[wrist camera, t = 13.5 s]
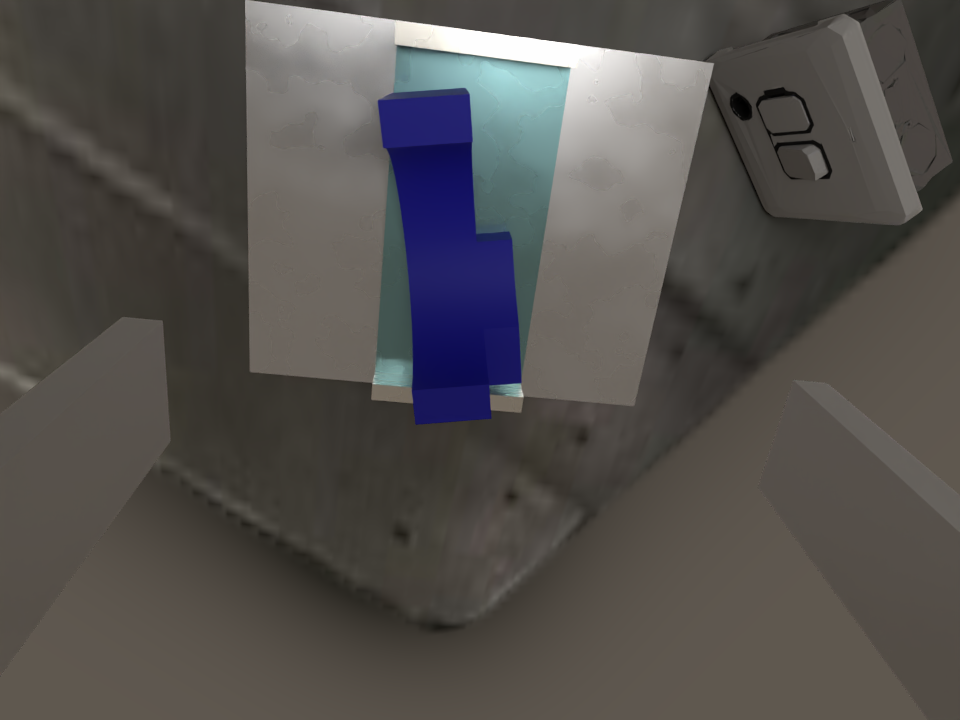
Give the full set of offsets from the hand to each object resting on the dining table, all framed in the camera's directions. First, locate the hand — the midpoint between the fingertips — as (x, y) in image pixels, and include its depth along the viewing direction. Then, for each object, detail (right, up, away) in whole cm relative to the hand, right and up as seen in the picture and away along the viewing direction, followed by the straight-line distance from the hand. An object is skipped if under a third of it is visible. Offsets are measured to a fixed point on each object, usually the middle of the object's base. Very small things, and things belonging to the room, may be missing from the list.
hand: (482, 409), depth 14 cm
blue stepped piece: (-1, +7, +16) cm, 17 cm away
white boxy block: (-1, +10, +23) cm, 25 cm away
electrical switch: (+16, +14, +22) cm, 30 cm away
